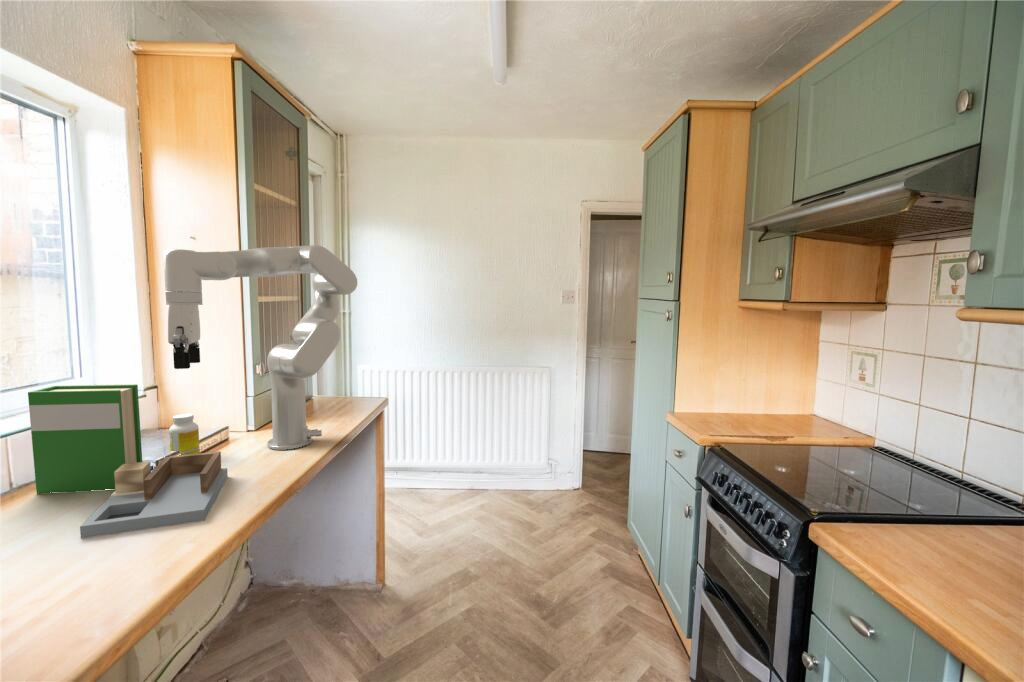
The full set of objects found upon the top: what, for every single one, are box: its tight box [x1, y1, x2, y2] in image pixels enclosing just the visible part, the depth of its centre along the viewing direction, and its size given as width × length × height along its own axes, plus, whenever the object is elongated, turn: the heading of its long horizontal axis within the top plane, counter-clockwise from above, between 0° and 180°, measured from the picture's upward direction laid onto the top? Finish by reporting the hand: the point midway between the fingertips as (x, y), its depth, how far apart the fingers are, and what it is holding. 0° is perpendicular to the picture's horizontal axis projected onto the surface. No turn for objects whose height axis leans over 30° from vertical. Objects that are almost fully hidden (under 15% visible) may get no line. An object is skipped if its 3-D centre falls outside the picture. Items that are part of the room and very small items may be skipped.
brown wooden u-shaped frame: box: [143, 451, 222, 500], centre depth 105 cm, size 11×15×4 cm
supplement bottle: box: [168, 413, 201, 455], centre depth 125 cm, size 7×7×13 cm
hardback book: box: [27, 384, 143, 495], centre depth 108 cm, size 18×7×24 cm, turn 101°
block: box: [114, 460, 152, 494], centre depth 102 cm, size 5×5×5 cm
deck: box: [79, 467, 228, 539], centre depth 101 cm, size 20×24×3 cm
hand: (187, 365), depth 116 cm, fingers open, 9 cm apart
